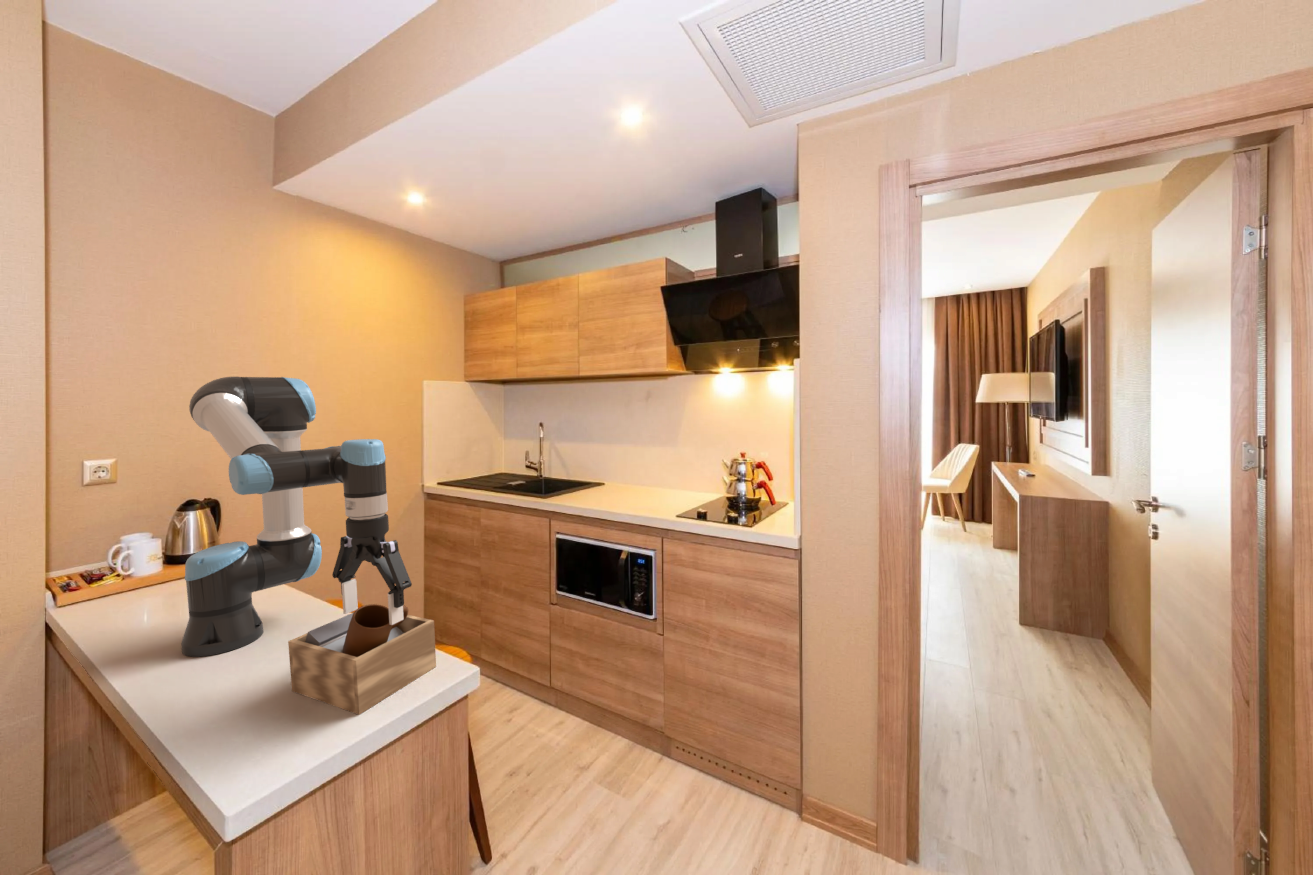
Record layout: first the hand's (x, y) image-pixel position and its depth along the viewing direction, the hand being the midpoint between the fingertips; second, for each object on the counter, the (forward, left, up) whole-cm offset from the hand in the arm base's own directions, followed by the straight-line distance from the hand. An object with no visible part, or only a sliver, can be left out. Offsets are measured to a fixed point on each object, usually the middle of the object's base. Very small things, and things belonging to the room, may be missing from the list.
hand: (373, 616), depth 103 cm
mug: (-1, 0, -7) cm, 7 cm away
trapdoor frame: (-3, 0, -14) cm, 14 cm away
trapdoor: (-5, 0, -8) cm, 10 cm away
